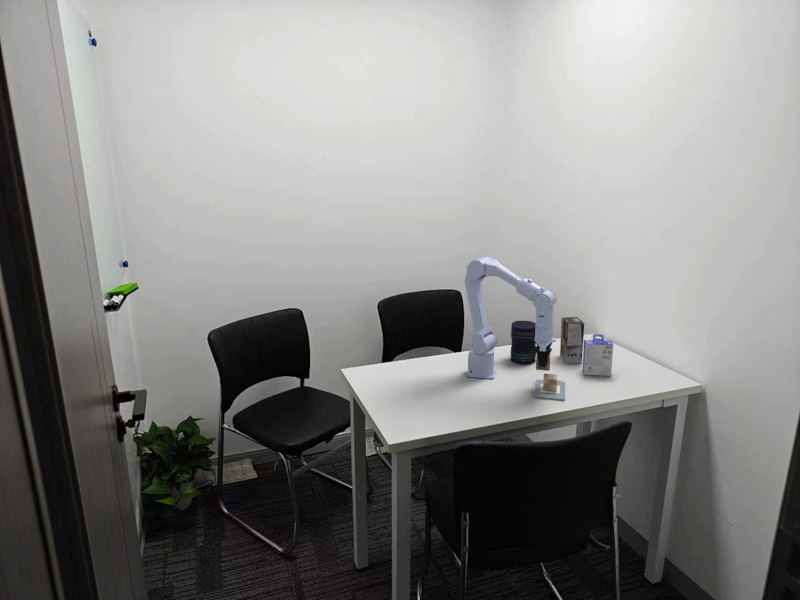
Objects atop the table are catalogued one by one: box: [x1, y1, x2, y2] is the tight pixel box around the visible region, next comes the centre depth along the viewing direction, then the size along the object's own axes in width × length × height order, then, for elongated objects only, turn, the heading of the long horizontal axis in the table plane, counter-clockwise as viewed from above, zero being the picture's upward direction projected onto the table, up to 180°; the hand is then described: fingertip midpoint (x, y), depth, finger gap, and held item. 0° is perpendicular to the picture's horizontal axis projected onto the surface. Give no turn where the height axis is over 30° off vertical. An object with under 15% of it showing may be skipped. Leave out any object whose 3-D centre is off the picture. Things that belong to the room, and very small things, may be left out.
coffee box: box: [559, 316, 585, 364], centre depth 209 cm, size 9×6×16 cm
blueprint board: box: [533, 379, 566, 402], centre depth 184 cm, size 10×14×1 cm
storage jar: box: [510, 320, 537, 366], centre depth 209 cm, size 10×10×15 cm
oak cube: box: [542, 373, 558, 392], centre depth 183 cm, size 4×4×4 cm
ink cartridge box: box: [581, 333, 614, 377], centre depth 195 cm, size 10×6×14 cm, turn 78°
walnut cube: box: [535, 353, 551, 372], centre depth 184 cm, size 4×4×4 cm
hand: (542, 363), depth 184 cm, fingers closed on walnut cube, 4 cm apart
